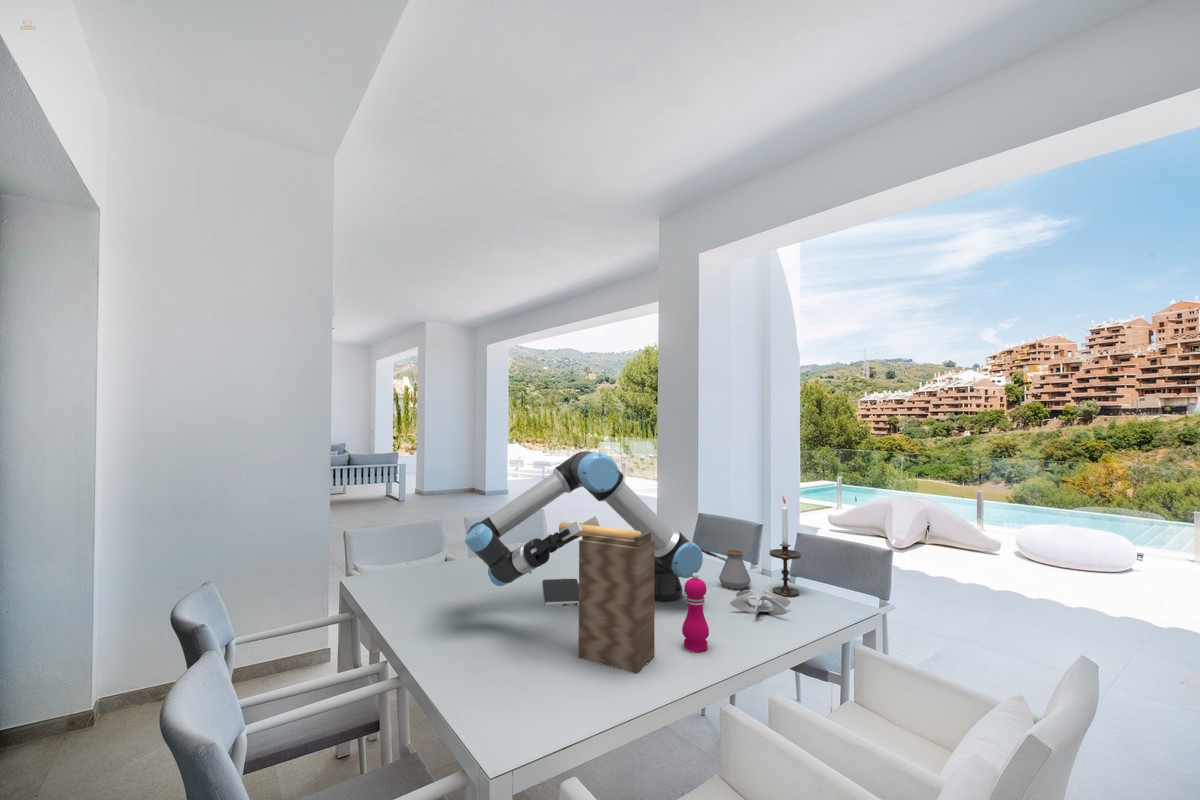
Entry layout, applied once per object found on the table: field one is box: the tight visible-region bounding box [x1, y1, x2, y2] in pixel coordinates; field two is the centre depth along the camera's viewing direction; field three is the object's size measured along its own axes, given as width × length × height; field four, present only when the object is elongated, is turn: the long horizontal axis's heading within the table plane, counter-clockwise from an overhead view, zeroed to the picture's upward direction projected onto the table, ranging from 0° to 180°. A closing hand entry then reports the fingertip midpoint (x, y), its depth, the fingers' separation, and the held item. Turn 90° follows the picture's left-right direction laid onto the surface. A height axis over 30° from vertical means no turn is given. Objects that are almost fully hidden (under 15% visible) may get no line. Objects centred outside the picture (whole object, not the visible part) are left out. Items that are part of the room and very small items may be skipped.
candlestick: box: [769, 496, 802, 598], centre depth 191 cm, size 11×11×35 cm
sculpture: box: [729, 590, 792, 617], centre depth 171 cm, size 18×20×6 cm
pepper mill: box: [681, 572, 710, 653], centre depth 144 cm, size 7×7×20 cm
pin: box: [558, 521, 641, 540], centre depth 141 cm, size 24×3×3 cm, turn 59°
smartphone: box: [541, 577, 579, 607], centre depth 190 cm, size 13×27×2 cm, turn 8°
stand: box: [578, 532, 655, 674], centre depth 138 cm, size 17×10×32 cm, turn 59°
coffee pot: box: [700, 548, 752, 591], centre depth 198 cm, size 21×12×15 cm, turn 98°
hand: (589, 522), depth 143 cm, fingers open, 9 cm apart
